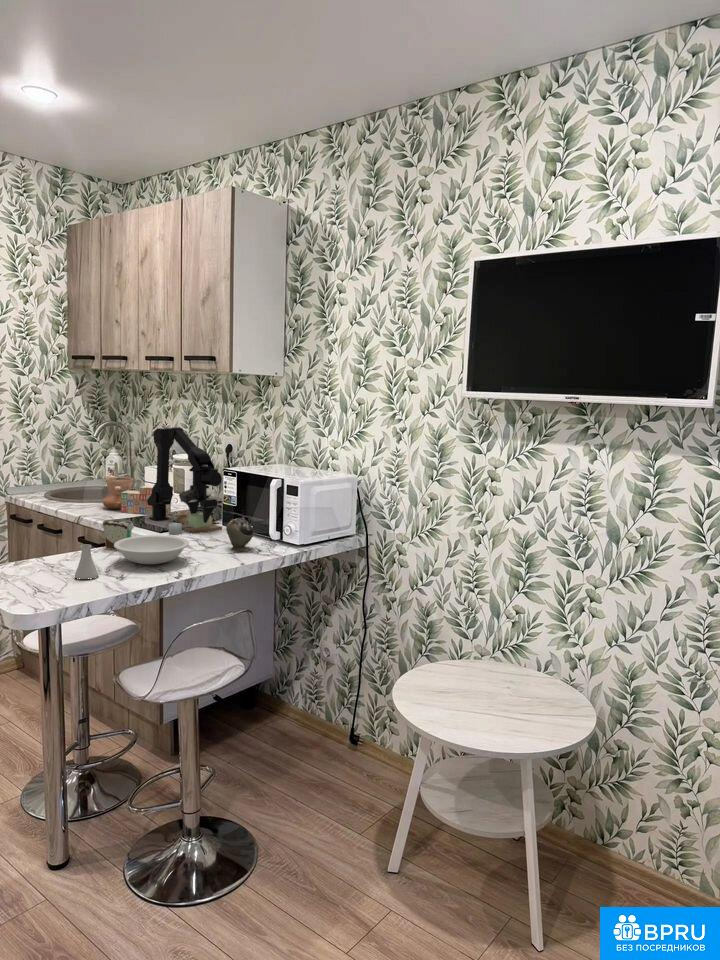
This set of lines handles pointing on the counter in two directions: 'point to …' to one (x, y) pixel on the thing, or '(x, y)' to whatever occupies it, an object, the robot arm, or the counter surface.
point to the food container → (116, 531)
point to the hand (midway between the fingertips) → (199, 520)
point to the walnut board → (202, 529)
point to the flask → (86, 564)
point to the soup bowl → (151, 548)
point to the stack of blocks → (139, 501)
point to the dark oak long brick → (183, 516)
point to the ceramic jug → (116, 491)
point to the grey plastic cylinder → (175, 528)
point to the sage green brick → (198, 520)
